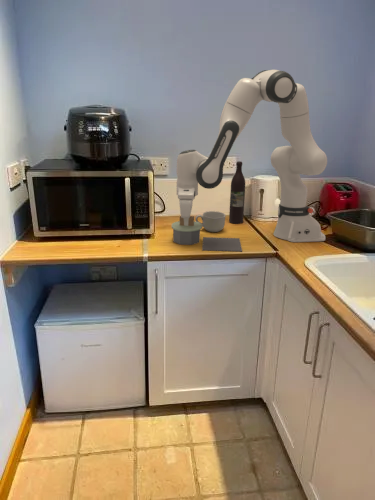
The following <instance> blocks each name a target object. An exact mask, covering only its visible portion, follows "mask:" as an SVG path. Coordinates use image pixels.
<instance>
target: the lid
mask: <svg viewBox="0 0 375 500" xmlns="http://www.w3.org/2000/svg"><path fill="white" fill-rule="evenodd" d="M199 222H200V221H199ZM199 222H196V220H195V216H193V215H190V218H189V224H188V226H185V225H184V218H182V217H181V215H180V216H179V221H174V222H172V223H171V229H172V230H173V229H174V230H177V231H183V232H192V231H198V230H200V231H201V230H202V229H203V227H202V224H201V223H202V222H200V223H199Z"/></svg>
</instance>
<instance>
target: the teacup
mask: <svg viewBox="0 0 375 500" xmlns="http://www.w3.org/2000/svg"><path fill="white" fill-rule="evenodd" d="M198 218H201V221H202V222H200V221H199V219H198ZM194 221H195V222H199V223H201V224H202V228H204V229H205V230H206V231H207V232H209V233H219V232H221V231H222V230H223V229H224V228H225V225H226V213H225V212H221V211H215V210H208V211H205V212H202V214H197V215H196V216H195V217H194Z"/></svg>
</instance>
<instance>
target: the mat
mask: <svg viewBox="0 0 375 500" xmlns="http://www.w3.org/2000/svg"><path fill="white" fill-rule="evenodd" d="M201 246H202V247H201V251H202V252H203V251H205V252H232V253H233V252H234V253H236V252H239V253H242V252H243V248H242V244H241V239H240V237H211V236H210V237H207V236H203V238H202V245H201Z"/></svg>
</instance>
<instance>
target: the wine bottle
mask: <svg viewBox="0 0 375 500" xmlns="http://www.w3.org/2000/svg"><path fill="white" fill-rule="evenodd" d="M235 166H236V169H235V173H234V174H233V177H232V179H231V181H230V196H229V198H230V199H229V214H228V215H229V217H228V221H229V223H231V224H233V225H234V224H235V225H236V224H237V225H239V224H242V223H243V222H244V212H245V198H246V197H245V196H246V179H245V176H244V174H243V170H242V169H243V162H242V161H236V164H235Z"/></svg>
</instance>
